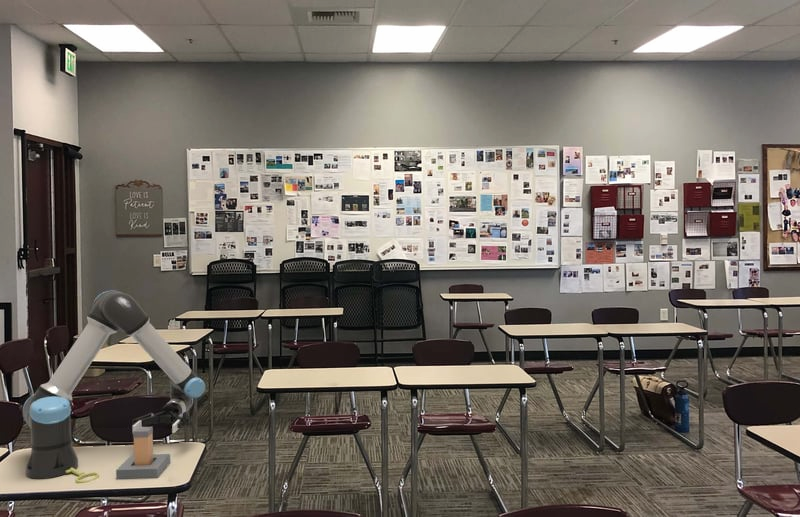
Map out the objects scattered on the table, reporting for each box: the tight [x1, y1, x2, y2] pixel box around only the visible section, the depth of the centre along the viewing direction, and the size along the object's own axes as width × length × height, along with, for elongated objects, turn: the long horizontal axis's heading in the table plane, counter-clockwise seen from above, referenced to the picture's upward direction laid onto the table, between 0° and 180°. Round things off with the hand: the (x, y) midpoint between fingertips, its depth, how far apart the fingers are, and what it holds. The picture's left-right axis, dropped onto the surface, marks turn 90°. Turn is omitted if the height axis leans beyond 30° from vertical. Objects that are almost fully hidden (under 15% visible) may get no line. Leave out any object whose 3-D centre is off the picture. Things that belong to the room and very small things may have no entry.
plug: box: [132, 426, 154, 466], centre depth 203 cm, size 5×5×14 cm
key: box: [65, 468, 100, 484], centre depth 198 cm, size 7×12×2 cm, turn 75°
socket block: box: [115, 453, 171, 480], centre depth 203 cm, size 13×13×3 cm
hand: (153, 429), depth 213 cm, fingers open, 13 cm apart
